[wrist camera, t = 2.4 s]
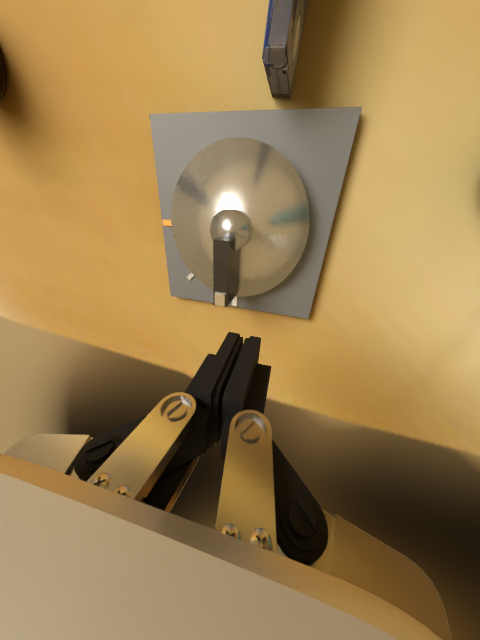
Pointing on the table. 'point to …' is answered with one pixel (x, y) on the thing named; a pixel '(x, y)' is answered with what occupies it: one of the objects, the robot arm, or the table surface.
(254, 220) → the dial
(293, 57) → the mini dv tape
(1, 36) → the table surface
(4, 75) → the supplement bottle
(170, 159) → the dial plate
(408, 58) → the table surface
